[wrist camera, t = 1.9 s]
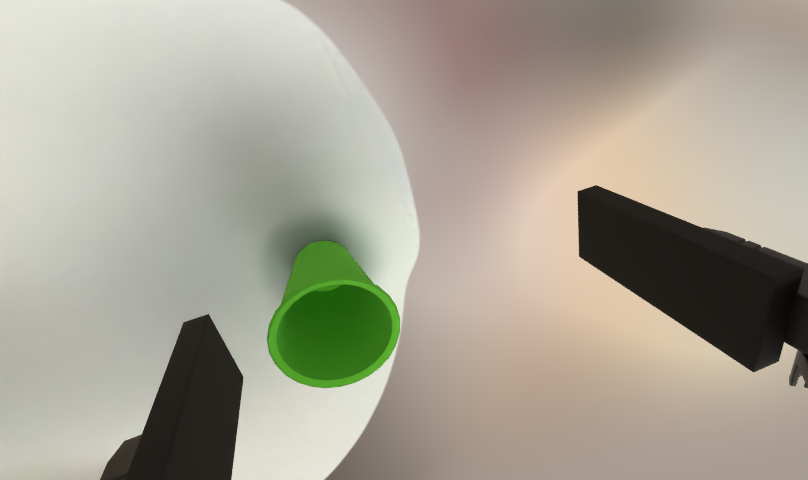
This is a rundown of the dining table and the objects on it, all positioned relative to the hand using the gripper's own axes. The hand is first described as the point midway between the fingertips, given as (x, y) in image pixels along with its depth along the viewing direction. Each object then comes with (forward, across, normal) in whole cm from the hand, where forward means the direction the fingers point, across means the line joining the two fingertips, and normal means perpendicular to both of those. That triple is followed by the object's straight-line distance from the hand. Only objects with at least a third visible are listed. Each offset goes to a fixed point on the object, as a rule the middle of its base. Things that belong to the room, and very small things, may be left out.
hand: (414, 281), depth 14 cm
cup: (+22, -4, -10) cm, 25 cm away
